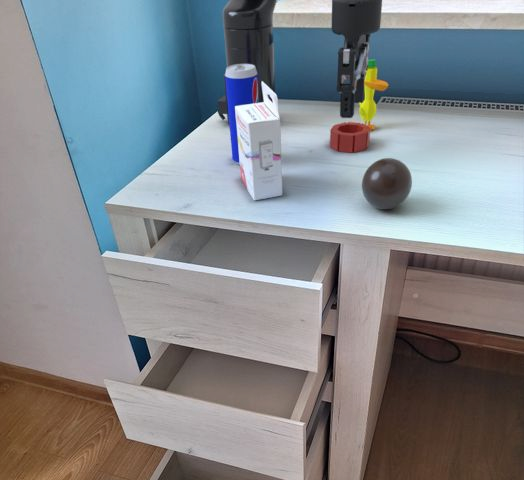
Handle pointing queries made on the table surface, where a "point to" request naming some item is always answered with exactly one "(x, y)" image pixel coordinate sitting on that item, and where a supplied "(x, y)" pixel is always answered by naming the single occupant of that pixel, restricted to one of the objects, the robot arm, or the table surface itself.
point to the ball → (386, 183)
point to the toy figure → (371, 93)
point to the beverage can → (239, 96)
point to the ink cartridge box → (260, 146)
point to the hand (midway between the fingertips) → (351, 109)
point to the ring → (349, 137)
